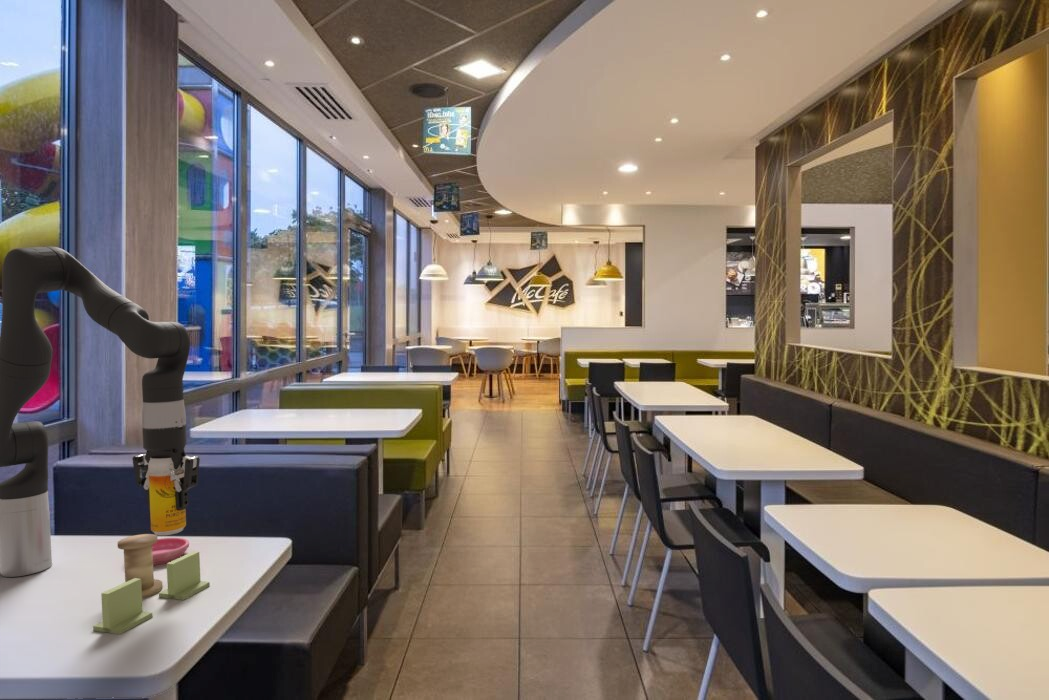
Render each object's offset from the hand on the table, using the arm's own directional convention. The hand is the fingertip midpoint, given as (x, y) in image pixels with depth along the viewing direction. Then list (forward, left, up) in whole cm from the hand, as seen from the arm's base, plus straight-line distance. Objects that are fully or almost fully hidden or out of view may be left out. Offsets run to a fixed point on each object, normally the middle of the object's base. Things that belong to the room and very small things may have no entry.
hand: (167, 508), depth 128 cm
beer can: (0, 0, -5) cm, 5 cm away
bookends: (0, -3, -18) cm, 19 cm away
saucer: (-21, +19, -19) cm, 34 cm away
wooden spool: (-9, +2, -18) cm, 21 cm away
